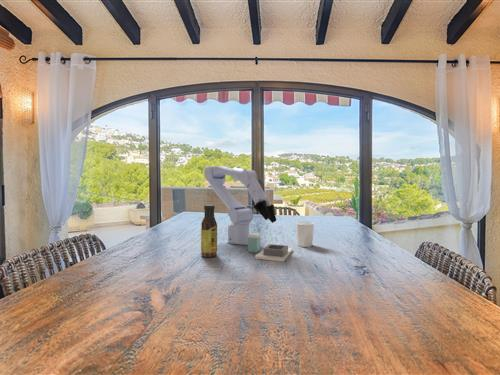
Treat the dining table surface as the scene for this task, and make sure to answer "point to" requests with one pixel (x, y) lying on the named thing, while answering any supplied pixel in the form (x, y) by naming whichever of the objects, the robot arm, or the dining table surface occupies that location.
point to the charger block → (253, 242)
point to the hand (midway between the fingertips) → (271, 220)
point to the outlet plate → (274, 252)
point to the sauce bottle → (209, 233)
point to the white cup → (304, 233)
